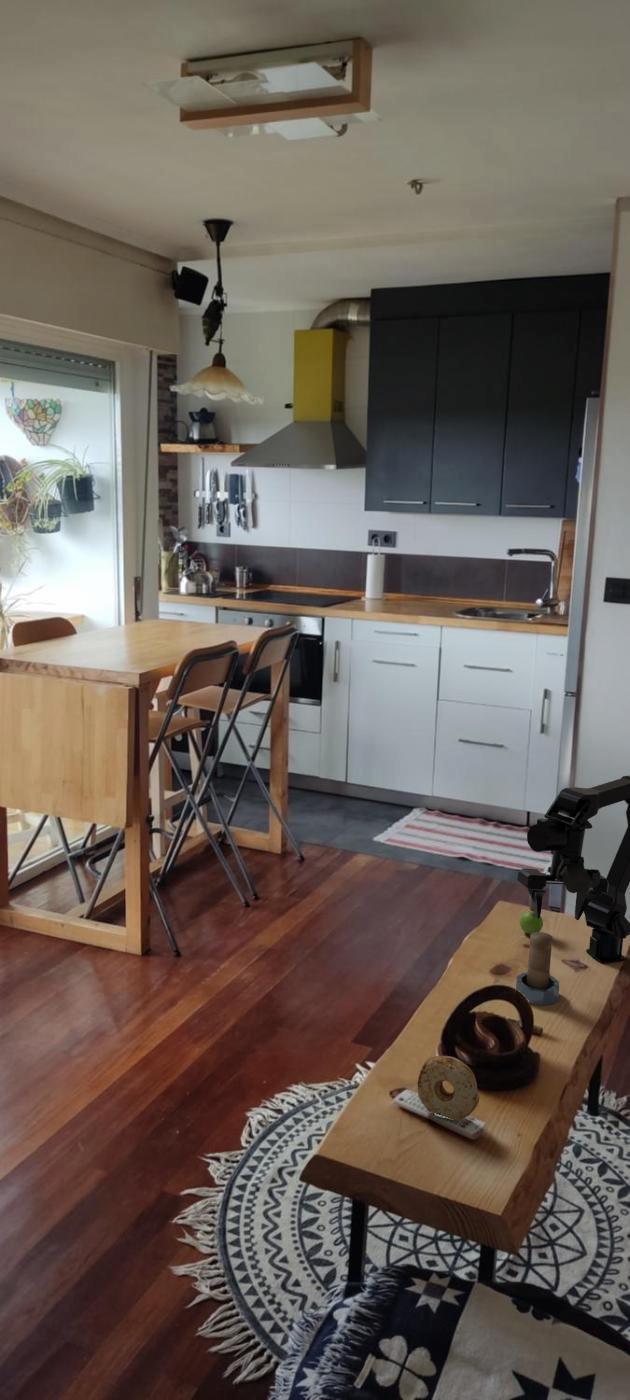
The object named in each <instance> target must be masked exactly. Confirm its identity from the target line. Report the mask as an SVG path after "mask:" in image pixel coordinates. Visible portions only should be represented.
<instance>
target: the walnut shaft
mask: <svg viewBox="0 0 630 1400" xmlns="http://www.w3.org/2000/svg"><path fill="white" fill-rule="evenodd" d="M529 938H530V939H529V948H528V949H529V950H528V962H527V972H528V973H527V986H529V987H531V988H535V989H548V985H549V975H550V973H551V972H550V970H551V957H552V948H553V947H552V945H553V936H552V935H551V934H549V933H547V932H542V931H539V932H534V933H531V934H529Z"/></svg>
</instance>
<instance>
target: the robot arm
mask: <svg viewBox="0 0 630 1400" xmlns="http://www.w3.org/2000/svg"><path fill="white" fill-rule="evenodd" d="M623 801H624V802H625V804H626V805H627V807H626V811H625V815H626V821H627V828H626V830H625V832H624V835H623V837H622V839H621V842H620V844H619V846H618V849H617V852H616V854H615V856H614V858H613V861H612V863H611V866H610V868H609V870H608V873H607V875H606V877H604V876H603V875H602V874H601V872H600V870H599V869H596V868H595V869H594V868H593V869H592V868H585V858H584V856H582V852H583V847H584V840H585V834H586V830H588V829H593V825H592V824H591V822H589V819H591V818H593V817H595V816H596V815H598V812H599V810H601V809H602V808H605V807H607V806H611V805H614V804H617V803H620V802H623ZM543 817H544V818H541V817H539V818H537V819H536V823H535V824H533V825H531V826H530V828H529V830H528V831H527V833H526V841H527V844H528V846H529V847H530V849H531V850H532V851H534V852H536V853H542V852H550V854H551V855H552V860H551V866H548V867H547V872H548V873H549V874H544V873H542V872H541V871H540V870H538V869H537V868H521V869H520V870H519V871H518V872H517V879H516V880H517V882H519V884H522V886H524V887H525V888H526V889H527V891H528V895H529V894H530V897H531V900H532V904H533V908H534V912H535V916H536V918H538V919H539V918H540V916H541V913H542V906H543V898H544V895H545V894H546V893H547V891H546V890H545V889H544V888H545V887H547V884H548V885H562V886H563V885H564V886H565V889H566V890H567V891H568V892H569V893H571V894H576V898H575V907H574V919H575V920H576V921H579V920H580V919H581V917H582V916H583V914H584V917H585V922H586V926H587V927H589V928H592V929H591V935H590V937H589V946H588V947H589V948H587V949H586V950H585V952H586V954H589V955H590V956H592V957H593V959H595V960H597V961H598V962H599V963H601V964H607V963H613V962H622V961H626V959H627V958H626V956H624V955H623V944H624V939H627V936H630V921H629V920H628V919H627V918H626V916H625V915H626V913H627V909H628V906H627V899H626V893H627V891H628V887H629V885H630V775H623V776H622V777H621V778H617V779H615V780H612V781H611V780H610V781H607V782H604V783H602V784H598V785H595V786H592V787H574V786H573V787H565V788H562V789H561V790H560V791H559V793H558V795H556V797H555V799H554V801H553V802H552V804H551V805H550V806H549V808H548V809H547V811H546V813H545V814H544V816H543ZM621 960H622V961H621Z"/></svg>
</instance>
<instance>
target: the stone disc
mask: <svg viewBox="0 0 630 1400" xmlns="http://www.w3.org/2000/svg"><path fill="white" fill-rule="evenodd" d="M417 1079H418V1080H417V1083H416V1084H417V1096H418V1098H419V1100H420V1102H421V1103H422V1105H423V1106H424V1108H425V1109H426V1110H427V1111H428V1112H429V1113H430V1112H431V1113H430V1114H432V1113H436V1114H439V1115H442V1116H445V1117H448V1118H450V1119H453V1120H452V1121H454V1120H457V1121H462V1120H464V1119H467V1117H469V1116H470V1115H471V1114H472V1113H474V1111H475V1110H476V1108H477V1107H478V1104H479V1102H480V1095H479V1090H478V1084H477V1079H476V1077H475V1074H474V1072H473V1070H471V1068H470V1067H469V1066H468V1065H467V1064H466V1063H464V1062H463V1061H461V1060H460V1059H458V1058H456V1057H454V1056H449V1055H436V1056H431V1057H430V1058H428V1059H426V1060H425V1062H424V1063H423V1065H422V1066H421V1069H420V1071H419V1074H418V1078H417ZM443 1082H447V1083H449V1085H451V1086H452V1087H453V1091H448V1090H446V1089H445V1087H444V1085H443Z"/></svg>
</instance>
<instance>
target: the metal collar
mask: <svg viewBox="0 0 630 1400" xmlns="http://www.w3.org/2000/svg"><path fill="white" fill-rule="evenodd" d="M527 973H528V971H527V972H522V973H520V974H518V975H517V976H516V981H515V990H516V989H517V990H519V991H520V992H521V993H522V994H524V995H525V997H526V998H527V999H528V1000H529V1002H530V1003H531V1004H530V1003H529V1004H530V1005H536V1006H548V1005H553V1004H555V1003H557V1001H559V995H560V994H559V993H560V981H559V980H558V979H557V978H555V977H554V976H552V975H550V974H549V985H548V989H535V988H531V987H529V986H527Z"/></svg>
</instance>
